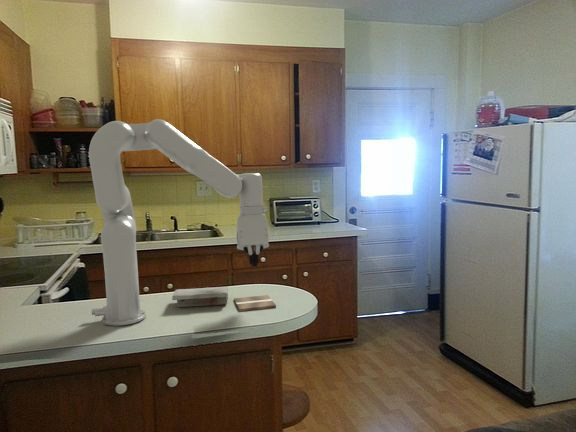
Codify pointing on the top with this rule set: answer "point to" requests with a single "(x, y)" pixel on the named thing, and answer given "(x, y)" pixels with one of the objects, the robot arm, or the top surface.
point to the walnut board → (254, 303)
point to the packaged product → (201, 296)
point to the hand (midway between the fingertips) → (253, 265)
